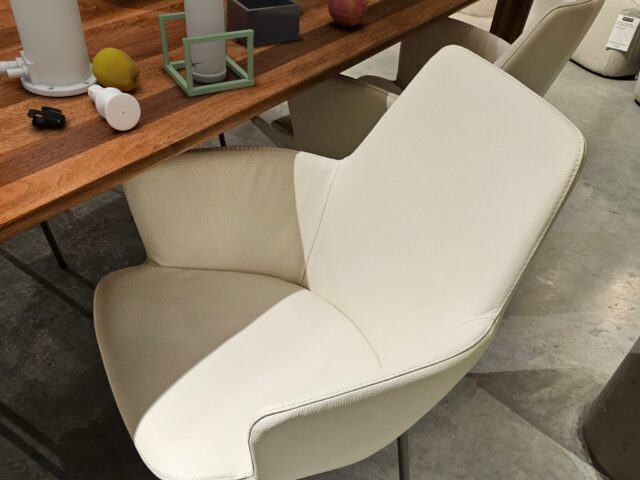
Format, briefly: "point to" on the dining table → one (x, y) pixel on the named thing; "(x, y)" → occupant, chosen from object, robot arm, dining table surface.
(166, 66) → the rack
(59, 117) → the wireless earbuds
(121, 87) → the lemon
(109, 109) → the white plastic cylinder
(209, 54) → the travel mug
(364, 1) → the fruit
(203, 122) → the dining table surface
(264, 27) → the dark grey storage box
